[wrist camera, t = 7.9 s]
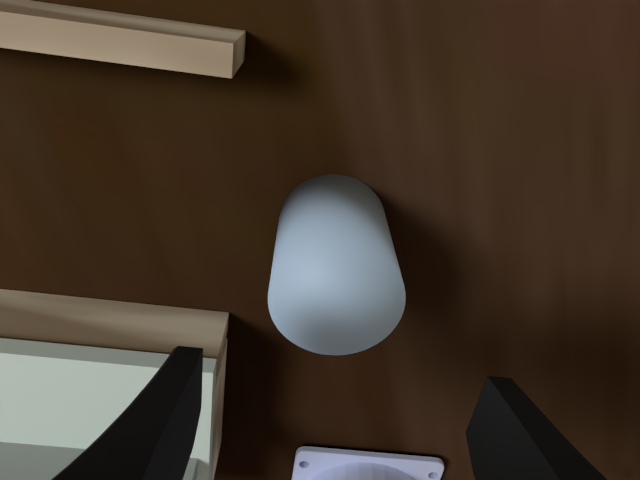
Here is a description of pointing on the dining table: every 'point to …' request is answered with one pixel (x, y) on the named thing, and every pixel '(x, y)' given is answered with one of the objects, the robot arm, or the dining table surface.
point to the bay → (140, 50)
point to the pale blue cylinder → (335, 268)
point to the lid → (78, 404)
